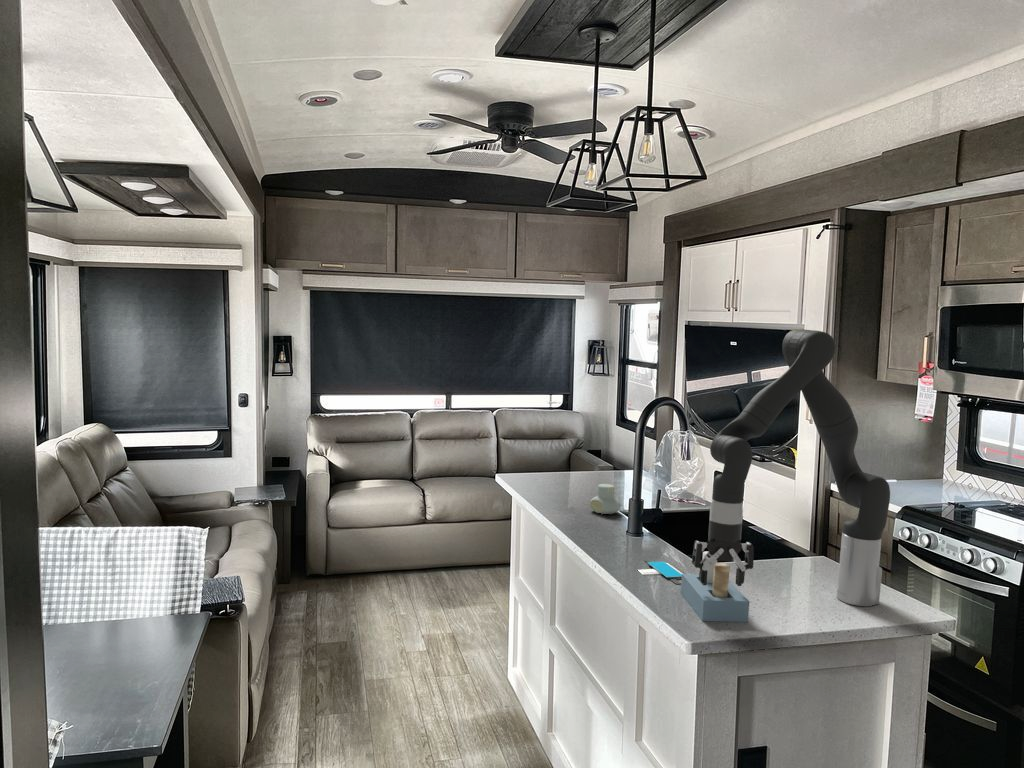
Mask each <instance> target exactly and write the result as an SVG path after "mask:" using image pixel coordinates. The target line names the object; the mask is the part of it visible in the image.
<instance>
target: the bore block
mask: <svg viewBox="0 0 1024 768" xmlns="http://www.w3.org/2000/svg"><path fill="white" fill-rule="evenodd" d="M707 552H708V551H707V550H706V551H705V550H704V551H702V558H701V561H702V560H703V559H704V556H705V555H706V554H707ZM715 563H718V561H717V560H715V562H714V563H713V564H711V565H710V566H709V567H708V568H707V569H706V570H707V571H708V572H707V585H702V583H701V582H700V581H699V573H698V574H696V573H686V574H682V578H680V579H681V582H680V583H681V584H680V594H681V595H682V597H683V598H684V599H685V601H686V602H687V603H688V604H689V607H691V609H692V610H693V611H694V612H695V613H696V615H697V617H698V618H699V619H700V621H702V622H730V623H731V622H735V623H736V622H737V623H739V622H740V623H748V622H749V614H750V613H749V612H750V603H751V602H750V600H749V599H748V598H747V597H746V596H745V595H744V594H743V593H742V592H741V591H740V590H739V589H738V588H737V587H736V586H735V585H734V584H733V583H732V582H731V581H730V580H729V584H728V598H721V597H713V596H712V589H713V575H714V564H715Z"/></svg>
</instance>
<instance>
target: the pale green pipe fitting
mask: <svg viewBox="0 0 1024 768" xmlns="http://www.w3.org/2000/svg"><path fill="white" fill-rule="evenodd" d="M589 506H590V508H591V510H592V511H594V512H595V513H597V514H598V513H601V514H600V515H603V514H609V515H613V514H616V513H618V511H620V509H621V502H620V501H619V499H618V498H617V497H615V486H614V485H613V484H609V483H600V484H598V485H597V495H596V496H594V497H593V498H591V500H590V502H589Z"/></svg>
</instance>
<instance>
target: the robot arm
mask: <svg viewBox="0 0 1024 768" xmlns="http://www.w3.org/2000/svg"><path fill="white" fill-rule="evenodd" d="M781 347H782V348H781V349H782V355H783V358H784V360H785V362H786V364H787V366H788V369H787V370H786V371H785V372H783V374H781V376H779V377H778V378H777V379H775V380H774V381H772V382H770V383H769V384H768V385H767V386H765V387H764V388H763V389H761V390H759V392H757V393H756V394H755V395H754V396H753V397H752V399H751V400H750V401H749V402H748V404H747V405H746V406H745V407H744V409H743V410H742V411H741V413H739V415H738V416H737V417H736V418H735V419H733V420H731V422H729V423H728V424H727V425H726V426H725V427H723V429H721V430H719V432H718V433H717V434H716V435H715V436H714V438H713V439H712V441H711V443H710V450H709V451H710V455H711V457H712V458H713V459H714V461H716V462H718V463H720V464H723V470H722V473H720V474H717V475H716V476H715V477H714V479H713V483H712V492H711V493H712V495H711V497H712V498H711V503H710V507H709V519H708V520H709V521H708V522H709V523H708V535H707V536H708V538H707V541H706V542H704V541H699V540H695V541H694V542H693V543H694V544H693V551H692V557H691V558H692V559H691V563H692V565H693V566H694V567H695V568H696V569H697V568H698V569H699V571H698V572H699V573H698V574H699V581H700V582H701V583H702V585H707V572H708V571H707V570H706V569H707V568H708V567H709V566H710V565H711V564H713V563H714V562H715V560H717V562H723V561H726V562H731V561H733V563H734V564H735V566H737V568H736V570H735V571H736V572H735V573H736V574H735V585H736V586H737V587H742V585H743V584H744V583H745V574H746V570H749V569H750V570H752V569H754V555H755V553H754V552H755V551H754V550H755V549H754V545H753V544H752V543H751V542H750V541H746V542H745V543H742V542H741V540H742V528H743V519H744V515H743V513H744V508H743V507H744V506H743V501H744V500H743V499H744V487H745V486H744V485H745V482H746V480H747V477H748V474H749V471H750V468H751V465H752V461H753V450H752V447H751V444H750V443H749V442H748V441H749V440H751V439H754V438H755V439H756V438H759V437H762V435H764V434H765V433H766V432H767V430H768V428H769V427H770V426H771V425H772V424H773V422H774V421H775V420H776V418H778V416H779V414H780V413H781V412H782V411H783V409H784V408H785V407H787V405H788V404H789V403H790V402H791V401H792V399H794V397H796V396H797V395H798V394H799V393H800V392H801V393H802V395H803V398H804V401H805V402H806V406H807V407H808V410H809V413H810V415H811V417H812V420H813V423H814V425H815V429H816V431H817V433H818V435H819V438H820V440H821V441H822V444H823V447H824V449H825V452H826V454H827V458H828V460H829V463H830V465H831V468H832V469H831V470H832V473H833V477H834V480H835V484H836V487H837V491H838V494H839V496H840V498H841V499H842V501H843V502H845V504H847V505H849V506H851V507H854V508H857V509H858V514H857V517H856V518H855V519H848V520H845V521H844V522H843V523H842V532H841V540H840V541H841V542H840V552H839V553H840V554H839V555H840V556H839V567H838V574H837V575H838V577H837V588H836V598H837V600H839V601H841V602H843V603H846V604H849V605H853V606H859V607H871V606H872V605H873V606H875V605H879V604H880V597H881V588H882V587H881V586H882V579H883V578H882V575H883V568H882V566H880V558H881V547H882V537H883V532H884V530H885V528H886V526H887V520H888V514H889V507H890V502H891V501H890V500H891V488H890V485H889V482H888V481H887V479H885V478H883V477H882V476H878V475H875V474H871V473H868V472H864V471H863V470H862V469H861V467H860V466H859V463H858V461H857V457H856V456H855V447H856V444H857V439H858V436H859V427H858V424H857V420H856V418H855V415H854V412H853V410H852V407H851V405H850V403H849V402H848V400H847V399H846V398H845V396H844V395H843V394H842V393H841V392H840V391H839V390H838V389H837V387H836V386H835V385H834V384H833V383H831V381H830V380H829V378H828V377H827V376H826V374H825V373H824V369H826V367H827V366H828V365H829V364H830V363H831V361H833V359H834V357H835V355H836V350H837V349H836V347H837V346H836V342H835V340H834V338H833V336H832V335H831V334H830V333H827V332H824V331H822V330H815V329H805V328H804V329H803V328H800V329H792V330H789V332H788V333H786V335H785V336H784V338H783V340H782V345H781ZM705 549H707V550H708V552H707V554H706V555H705V556H704V559H703V558H702V554H703V552H705ZM741 551H743V552H744V562H742V560H741V558H740V557H739V555H738V554H739V553H740V552H741ZM702 559H703V560H702Z"/></svg>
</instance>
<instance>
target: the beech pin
mask: <svg viewBox="0 0 1024 768" xmlns="http://www.w3.org/2000/svg"><path fill="white" fill-rule="evenodd" d="M730 568H731V567H730V565H729V564H727V563H725V562H724V563H723V562H717V563H715V564H714V575H713V589H712V596H713V597H721V598H728V584H729V581H730V570H731V569H730Z"/></svg>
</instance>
